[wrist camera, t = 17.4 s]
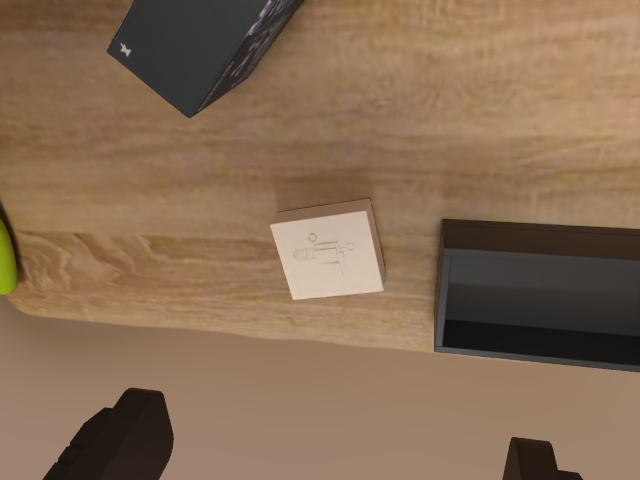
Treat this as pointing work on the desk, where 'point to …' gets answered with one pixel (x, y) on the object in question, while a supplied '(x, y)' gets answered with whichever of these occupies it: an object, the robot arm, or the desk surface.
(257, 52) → the box
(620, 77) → the desk surface
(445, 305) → the bin
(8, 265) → the mushroom
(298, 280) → the box
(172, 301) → the desk surface
